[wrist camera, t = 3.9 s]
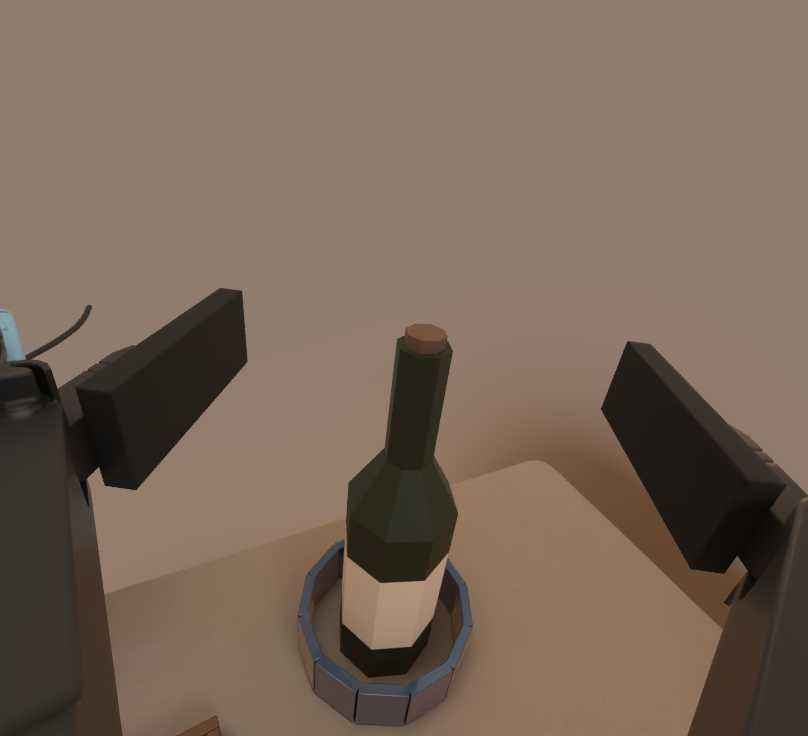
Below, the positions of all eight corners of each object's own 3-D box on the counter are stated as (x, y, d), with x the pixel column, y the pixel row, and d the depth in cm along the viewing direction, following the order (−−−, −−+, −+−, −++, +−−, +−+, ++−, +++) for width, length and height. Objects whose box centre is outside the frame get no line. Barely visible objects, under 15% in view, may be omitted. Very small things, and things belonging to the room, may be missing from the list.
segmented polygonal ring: (280, 594, 42) (278, 564, 39) (410, 540, 49) (414, 512, 47) (339, 768, 31) (342, 739, 29) (494, 667, 38) (506, 638, 36)
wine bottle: (321, 660, 37) (331, 346, 22) (355, 576, 44) (380, 296, 30) (416, 694, 36) (491, 382, 21) (435, 602, 43) (502, 321, 28)
